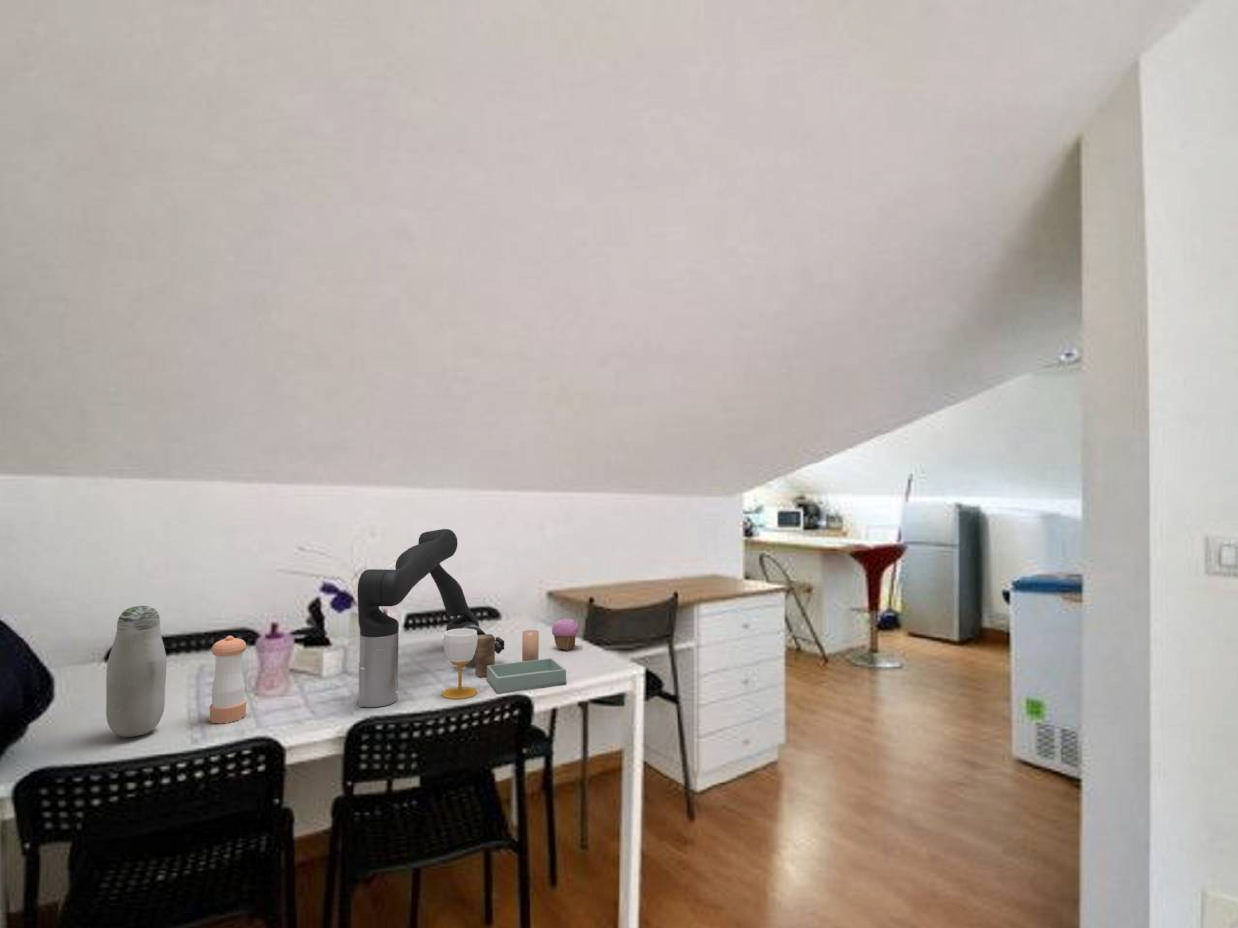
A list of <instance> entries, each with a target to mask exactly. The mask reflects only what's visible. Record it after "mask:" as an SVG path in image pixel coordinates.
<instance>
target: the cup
mask: <svg viewBox="0 0 1238 928" xmlns="http://www.w3.org/2000/svg"><path fill="white" fill-rule="evenodd" d="M442 639H443V640H442V641H443V651H444V655H445V657H446V659H447V660H448V661H449V662H450V663H451V664H452V665H454V666H455V667H458V686H456V687H451V688H448V689H446V690H444V691H443V692H442V697H443V698H445V699H449V700H464V699H469V698H472V697H474V696H476V695H477V694H478V689H476V688H474V687H471V686H462V683H463V682H462V681H463V680H462V679H463V676H462V675H463V673H462V672H463V667H464V666H465V665H467V664H468V663H470V662H471V661H472V660H473V658H474V656H475V655H476V654H475V651H476V647H477V640H478V636H477V631H476V630H474V629H466V628H463V629H452V630H448V631H445V632H444V634H443V638H442Z"/></svg>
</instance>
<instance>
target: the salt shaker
mask: <svg viewBox="0 0 1238 928" xmlns="http://www.w3.org/2000/svg"><path fill="white" fill-rule="evenodd" d="M246 649H247V643H246V641H245V640H243V639H241V638H236V637H234V636H232V635H228V636H226V637H225V638H224V639H221V640H218V641H216V642H215V643H213V645H212V647H211V652H212V655H213V656H215V663H214V664H215V665H214V667H215V668H214V677H213V682H212V687H211V688H212V689H211V704H210V706H209V722H210V721H211V722H213V723H212V724H214V723H225V724H228V723H227V722H231V723H234V722H233V721H235V722H237V721H236V720H238V721H240V720H239V719H241V718H242V717H244V716H245V715H246V716H247V700H246V698H245V691H246V690H245V689H246V687H245V686H246V685H245V679H244V672H243V654H244V652H245V651H246ZM246 716H245V717H246ZM245 717H244V718H245ZM241 720H242V719H241ZM211 722H210V723H211Z"/></svg>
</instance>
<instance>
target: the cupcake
mask: <svg viewBox="0 0 1238 928" xmlns="http://www.w3.org/2000/svg"><path fill="white" fill-rule="evenodd" d="M579 631H580V627H579V625H578V623H577V622H576V621H575V620H574V619H572V618H571V619H570V618H563V619H558V620H557V621H555V622H554V624H553V626H552V629H551V634H552V635H553V637H554V643H555V645H556V647H557V649H559V650H564V651H569V650H572V649H574V648H575V646H576V637H577V634H578V633H579Z"/></svg>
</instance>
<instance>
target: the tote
mask: <svg viewBox="0 0 1238 928" xmlns="http://www.w3.org/2000/svg"><path fill="white" fill-rule="evenodd" d="M486 681H487V683H488V684H489V685H490V687H491V688H492V690H493V691H494V692H495V693H496V695H498V694H503V693H504V694H505V693H510V692H511V693H512V692H519V691H520V692H521V691H527V690H535V689H542V688H548V687H557V686H561V685H562V686H565V685H566V684H567V670H566V668H565V667H563V665H562V664H560V663H559V662H557V661H556V660H555V659H554V658H552V657H550V658H543V659H538V660H532V661H523V662H522V661H517V662H516V661H515V662H508V663H499V664H495V665H489V666H487V677H486Z"/></svg>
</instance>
